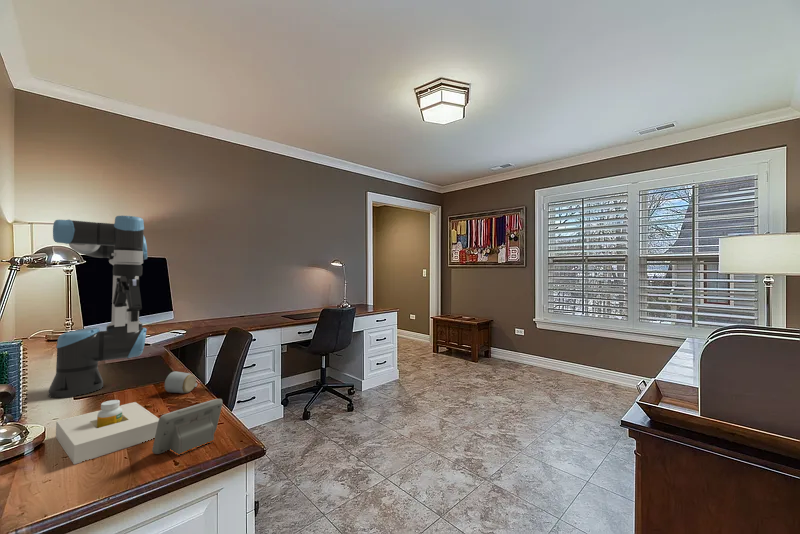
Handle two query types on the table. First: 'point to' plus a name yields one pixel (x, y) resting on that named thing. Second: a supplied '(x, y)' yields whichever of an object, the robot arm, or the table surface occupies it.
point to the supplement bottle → (109, 413)
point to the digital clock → (187, 427)
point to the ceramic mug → (180, 382)
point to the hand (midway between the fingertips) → (126, 329)
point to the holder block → (105, 433)
